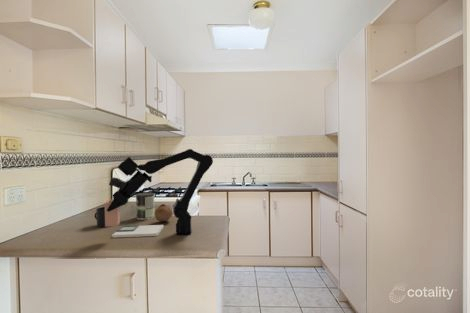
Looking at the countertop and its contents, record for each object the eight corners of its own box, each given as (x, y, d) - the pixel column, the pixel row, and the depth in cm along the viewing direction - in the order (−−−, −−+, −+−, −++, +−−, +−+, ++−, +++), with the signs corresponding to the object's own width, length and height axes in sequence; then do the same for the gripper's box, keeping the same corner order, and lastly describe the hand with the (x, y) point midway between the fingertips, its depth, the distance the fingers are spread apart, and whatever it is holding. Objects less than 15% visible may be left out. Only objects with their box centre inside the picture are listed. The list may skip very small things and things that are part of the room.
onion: (161, 225, 134) (161, 206, 134) (151, 222, 140) (150, 204, 140) (176, 221, 142) (175, 203, 142) (165, 219, 148) (165, 201, 148)
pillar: (119, 222, 115) (119, 198, 115) (117, 225, 111) (117, 200, 110) (107, 223, 114) (106, 199, 114) (105, 226, 109) (104, 201, 109)
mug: (101, 222, 144) (100, 206, 144) (120, 222, 142) (119, 206, 141) (88, 226, 135) (87, 209, 134) (108, 227, 132) (108, 210, 132)
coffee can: (135, 220, 146) (135, 195, 146) (137, 216, 156) (136, 193, 155) (154, 218, 149) (154, 194, 149) (154, 214, 159) (154, 192, 158)
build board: (163, 227, 131) (163, 223, 131) (157, 235, 117) (156, 231, 117) (123, 228, 130) (123, 225, 130) (111, 237, 116) (111, 233, 116)
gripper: (123, 169, 122) (98, 194, 119) (117, 172, 104) (87, 201, 101) (141, 185, 124) (117, 209, 121) (138, 190, 106) (110, 219, 103)
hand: (108, 209), depth 112 cm, fingers closed on pillar, 5 cm apart
